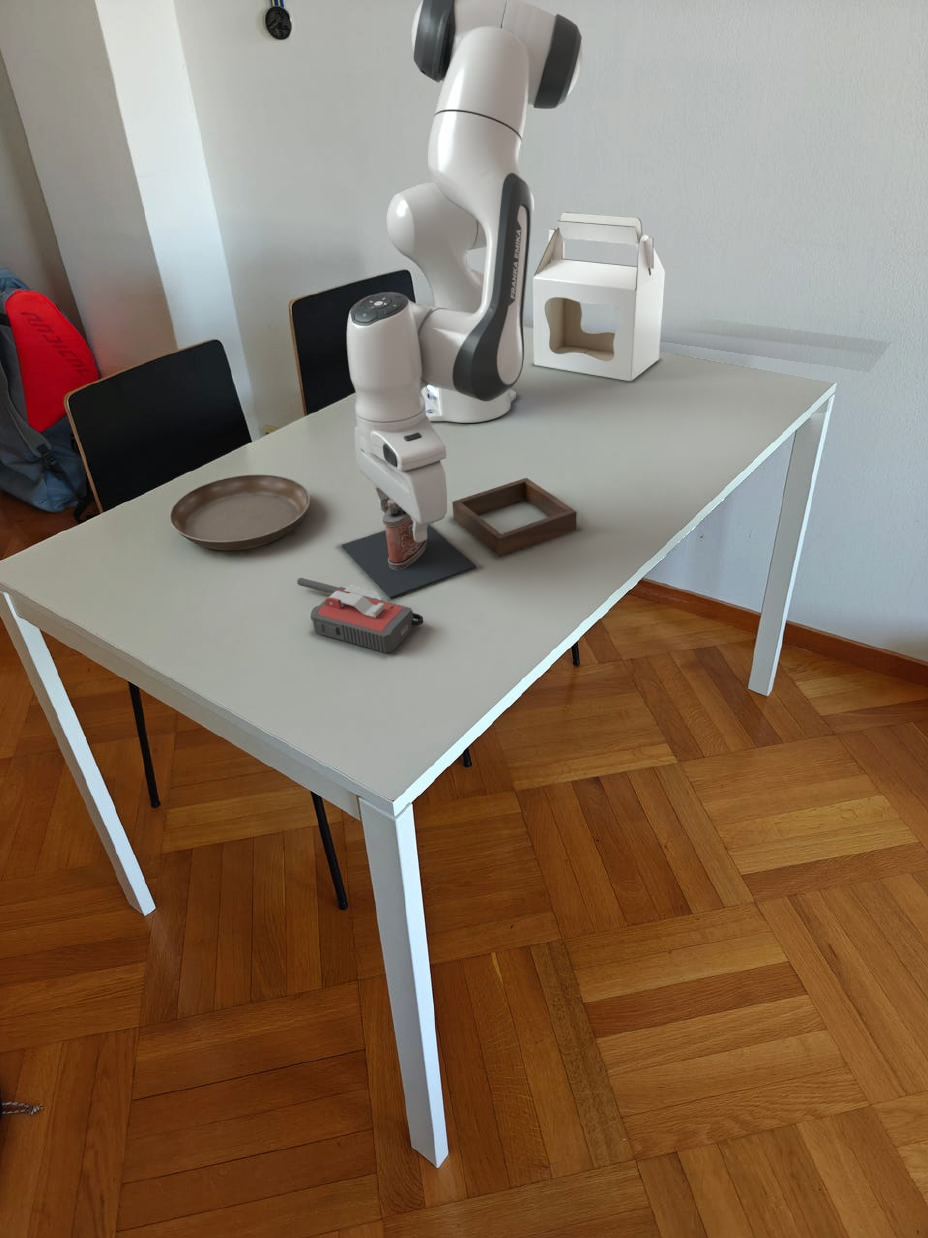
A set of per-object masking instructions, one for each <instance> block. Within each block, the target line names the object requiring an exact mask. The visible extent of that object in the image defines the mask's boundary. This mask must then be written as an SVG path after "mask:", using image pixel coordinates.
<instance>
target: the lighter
mask: <svg viewBox="0 0 928 1238" xmlns="http://www.w3.org/2000/svg"><path fill="white" fill-rule="evenodd" d="M388 506H389V509H388V510H387V512H386V513H384V514H383V515H382V523H383V525H384V529H385V530H386V537H387V545H388V553H389V559H388V564H389V567H390V568H392V569H396V570H400V569H404V568H406V567H407V566H409V565H410V564H411V563H413V562H414V561H415V560H416V559H417V558H419V557H420V555H421V554H422V553H423V552H424V550H425V549H426V547H427V545H428V543H427V539H426V540H425V541H422V542H419V543H417V542H415V541H414V540H413V539H412V538H411V535H410V534H411V533H410V527H412V526H413V521H412V520H411V516H410V515H409V514H407V513H406V512H405V511H404V510H403V509H402V508H401V507H400V506H398V505H397V504H396V503H395V502H394V501H393V500H392V499H390V500H388Z"/></svg>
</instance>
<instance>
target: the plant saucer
mask: <svg viewBox="0 0 928 1238" xmlns="http://www.w3.org/2000/svg"><path fill="white" fill-rule="evenodd" d="M310 503H311V495H310V492H309V491H308V489H307V488H306V487H305V486H304V485H302V483H299V482H298V481H296V480H293V479H291V478H288V477H285V476H282V475H274V474H259V473H257V474H242V475H234V476H229V477H225V478H222V479H217V480H214V481H211V482H208V483H205V484H203V485H200V486H198V487H196V488H194V489H192V490H191V491H188V492H187V493H186V494H184V495H183V496H181V497H180V498H179V499H178V500H177V501H176V502H175V503H174V504H173V506H172V508H171V509H170V511H169V522H170V524H171V526H172V527H173V529H174V530H175V531H176V532H177V533H178V534H179V535H180V536H182V537H183V538H185V539H187V540H188V541H190V542H192V543H194V544H196V545H198V546H201V547H204V548H208V549H212V550H218V551H241V550H249V549H253V548H258V547H261V546H264V545H268V544H270V543H273V542H275V541H278V540H279V539H281V538H283V537H284V536H286V535H287V534H288V533H290V532H291V531H293V529H295V527H296V526H297V525H298V524H299V523H300V522H301V520H302V519H303V518H304V517H305V515H306V513H307V511H308V509H309V506H310Z"/></svg>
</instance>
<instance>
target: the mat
mask: <svg viewBox="0 0 928 1238" xmlns="http://www.w3.org/2000/svg"><path fill="white" fill-rule="evenodd" d="M427 543H428V545H427V547H426V549H425V550H424V552H423V553H422V554H421V555H420V557H419V558H417V559H416V560H415V561H414V562H413V563H411V564H410V565H409V566H407V567H406V568H404V569H400V570H396V569H392V568H390V567H389V564H388V559H389V553H388V545H387V537H386V529H385V530H382V531H379V532H376V533H373V534H370V535H367V536H364V537H361V538H358V539H355V540H352V541H349V542H345V543H342V544H341V548H342V549H343V550H344V551H345V552H346V553H347V554H348V555H349V557H351V558H352V559H353V561H355V563H356V564H357V565H358V566H359V567H360V568H361V570H363V571H364V573H366V574H367V575H368V576H369V578H371V580H372V581H373V582H374V583H375V584H376V585H377V586H378V587H379V588H380V589H381V591H383V592H384V594H385V595H386V596H387V597H388V598H389V599H390V600H392V599H395V598H398V597H400V596H403V595H407V594H409V593H412V592H414V591H417V590H421V589H422V588H426V587H428V586H432V585H434V584H436V583H439V582H443V581H445V580H447V579H450V578H453V577H456V576H458V575H462V574H464V573H467V572H470V571H472V570H476V569H477V565H476V564H475V563H474V562H473V561H471V559H469V558H468V557H467V556H466V555H465V554H463V553H462V551H460V550H459V549H458V548H457V547H455V546H454V545H453V544H452V543H451V542H450V541H448V540H447V539H446V538H445V537H443V536H442V535H441V534H440V533H439V532H438V531H437V530H436V529H434V528H433V527H432V526H431V524H428V527H427Z"/></svg>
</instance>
